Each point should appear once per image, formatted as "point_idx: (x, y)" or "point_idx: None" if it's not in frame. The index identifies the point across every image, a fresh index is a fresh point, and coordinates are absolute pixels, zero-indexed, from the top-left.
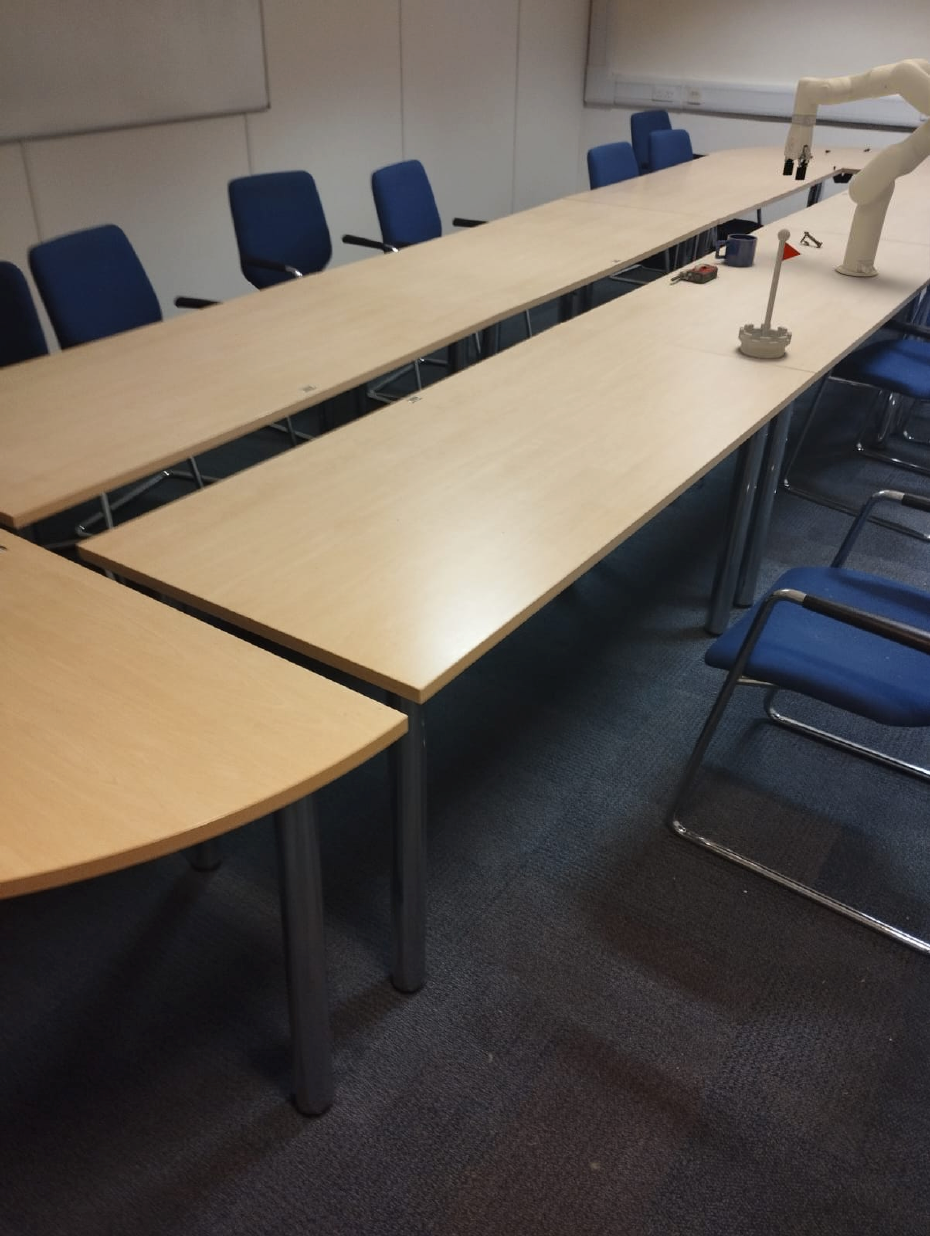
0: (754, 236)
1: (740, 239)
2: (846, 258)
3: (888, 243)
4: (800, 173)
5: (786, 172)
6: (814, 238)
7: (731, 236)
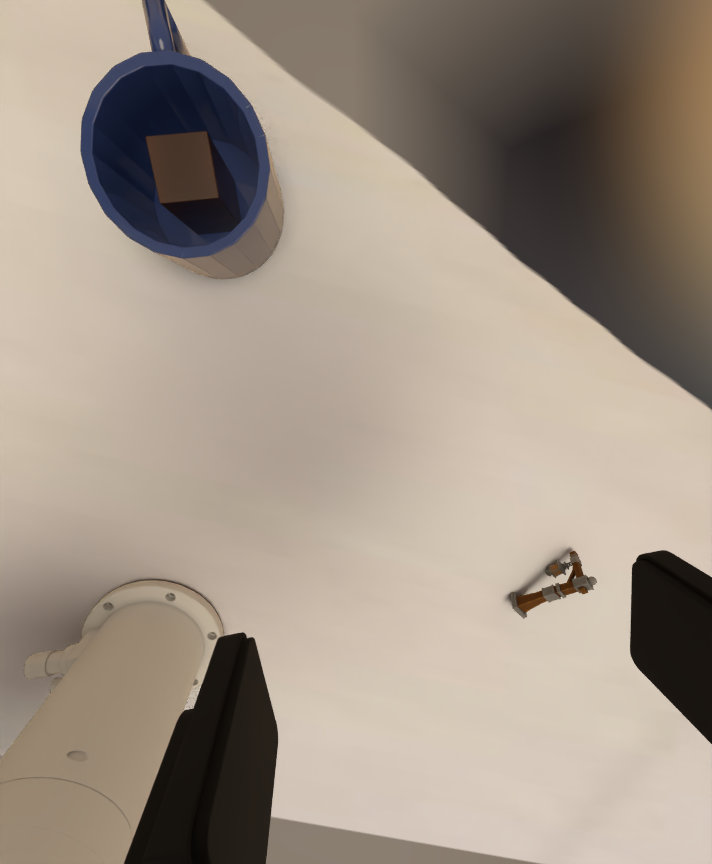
0: (210, 246)
1: (194, 159)
2: (116, 630)
3: (565, 797)
4: (165, 774)
5: (660, 609)
6: (550, 600)
7: (233, 104)
